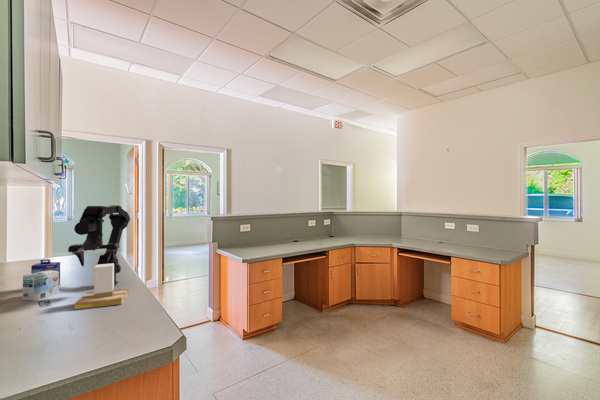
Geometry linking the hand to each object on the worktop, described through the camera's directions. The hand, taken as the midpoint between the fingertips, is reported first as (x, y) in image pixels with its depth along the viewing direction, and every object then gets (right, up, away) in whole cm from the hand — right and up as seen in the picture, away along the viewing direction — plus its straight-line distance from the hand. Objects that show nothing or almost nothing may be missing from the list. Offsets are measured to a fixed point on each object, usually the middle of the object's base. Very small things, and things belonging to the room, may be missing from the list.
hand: (94, 265), depth 132 cm
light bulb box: (-21, -13, -5) cm, 25 cm away
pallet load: (+12, -11, -10) cm, 19 cm away
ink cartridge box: (-30, -13, +8) cm, 34 cm away
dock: (+12, -13, -10) cm, 20 cm away
